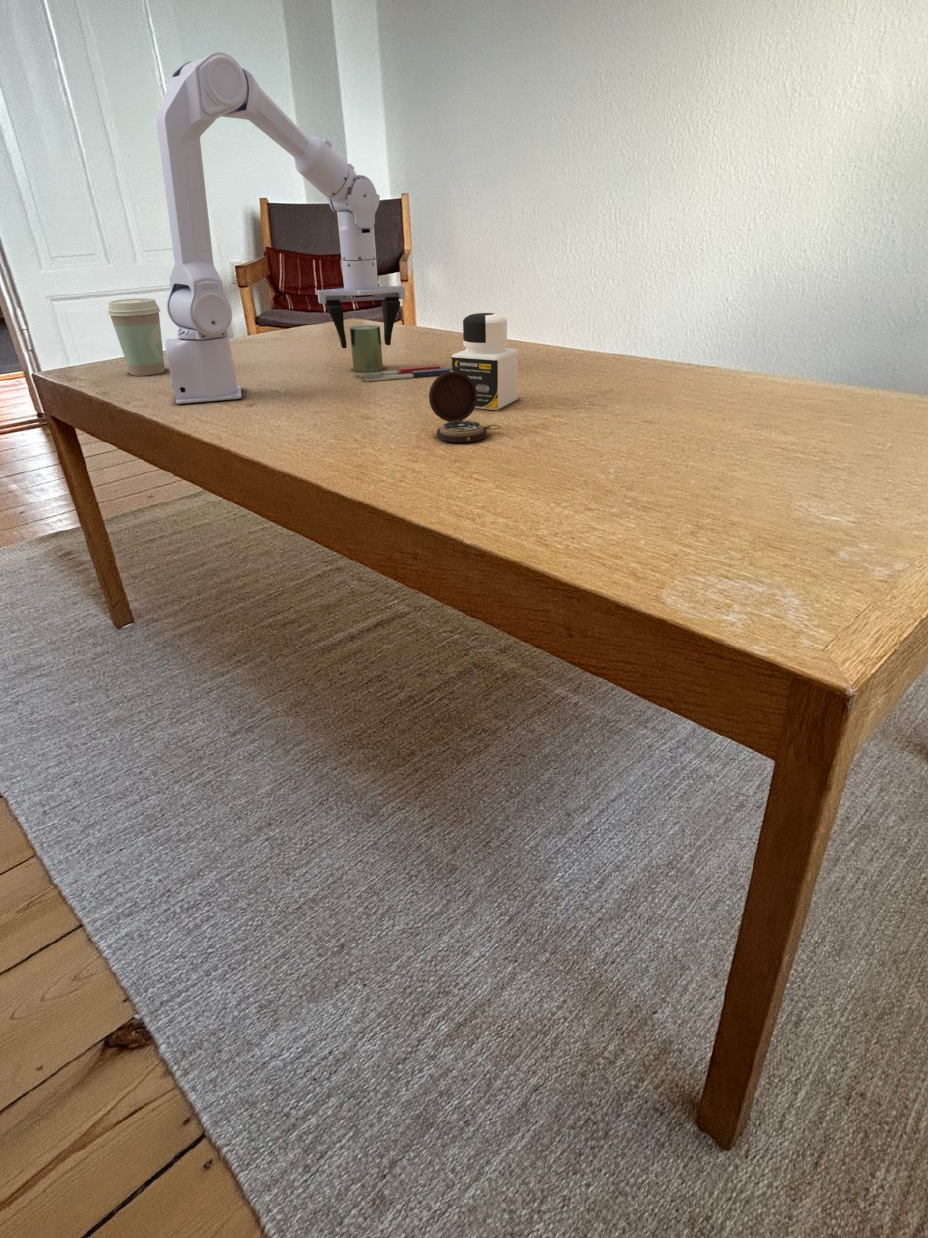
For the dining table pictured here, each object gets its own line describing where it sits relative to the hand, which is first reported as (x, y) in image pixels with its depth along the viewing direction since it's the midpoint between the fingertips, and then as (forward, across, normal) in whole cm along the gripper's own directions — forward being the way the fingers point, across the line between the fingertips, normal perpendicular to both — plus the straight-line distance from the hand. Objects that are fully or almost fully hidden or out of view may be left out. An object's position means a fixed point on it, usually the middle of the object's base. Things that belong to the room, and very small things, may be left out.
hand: (366, 345), depth 131 cm
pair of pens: (+4, +5, -6) cm, 9 cm away
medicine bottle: (+4, +12, -32) cm, 34 cm away
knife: (+4, +6, -10) cm, 12 cm away
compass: (+4, +5, -47) cm, 47 cm away
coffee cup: (+4, -38, +13) cm, 40 cm away
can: (+4, 0, 0) cm, 4 cm away
